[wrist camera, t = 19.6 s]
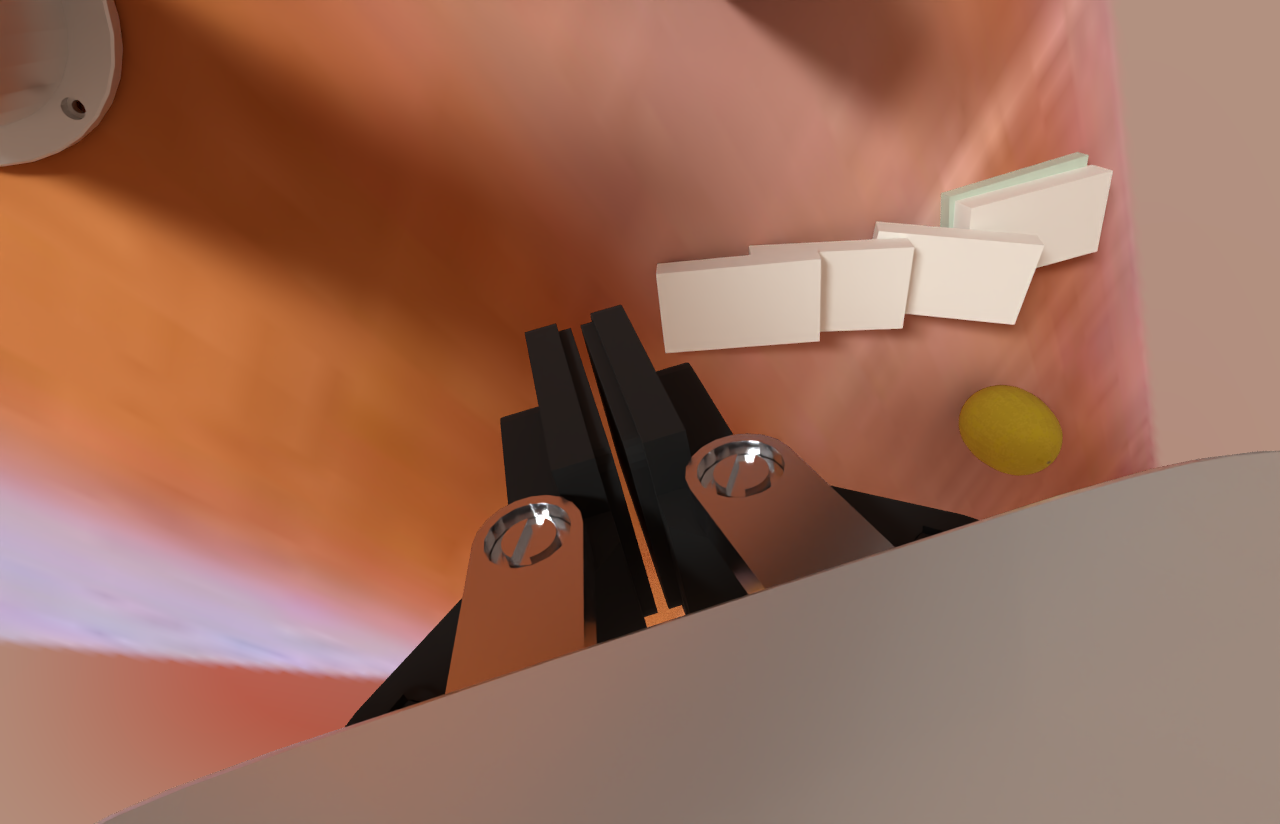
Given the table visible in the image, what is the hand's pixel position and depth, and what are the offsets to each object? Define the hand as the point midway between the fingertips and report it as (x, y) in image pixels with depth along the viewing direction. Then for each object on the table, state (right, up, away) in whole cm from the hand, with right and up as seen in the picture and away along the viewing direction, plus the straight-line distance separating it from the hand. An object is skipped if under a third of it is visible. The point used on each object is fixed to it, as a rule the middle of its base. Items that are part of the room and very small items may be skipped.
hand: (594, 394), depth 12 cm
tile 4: (+20, +10, +30) cm, 37 cm away
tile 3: (+15, +9, +30) cm, 35 cm away
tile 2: (+7, +7, +29) cm, 31 cm away
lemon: (+25, +1, +39) cm, 46 cm away
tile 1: (+2, +6, +29) cm, 29 cm away
